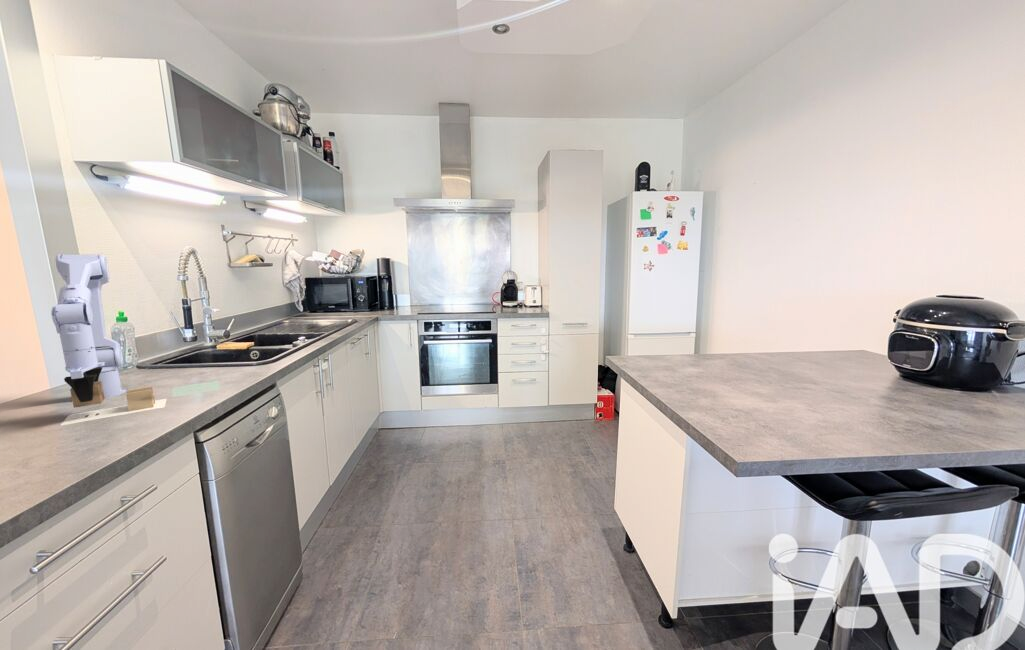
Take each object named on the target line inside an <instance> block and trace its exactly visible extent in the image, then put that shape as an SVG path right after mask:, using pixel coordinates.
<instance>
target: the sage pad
mask: <svg viewBox="0 0 1025 650" xmlns="http://www.w3.org/2000/svg"><path fill="white" fill-rule="evenodd" d="M218 390H221V386H220V381H219V380H212V381H208V382H200V383H199V382H198V383H193V384H187V385H181V386H175V387H172V391H171V396H170V398H175V397H181V396H187V395H193V394H198V393H199V394H200V393H206V392H213V391H218Z"/></svg>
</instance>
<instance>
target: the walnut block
mask: <svg viewBox="0 0 1025 650" xmlns="http://www.w3.org/2000/svg"><path fill="white" fill-rule="evenodd" d="M69 390H70V395H71V400H72V406H73V408H80V407H87V406H92V405H100V404H102V403H103V401H104V400H105V399H106V398H105V397H104V392H103V386H102V381H98V382H94V385H93V399H92V401H86V402H80V401H79V399H78V397H77V395H76V393H75V392H74V390H73V389H72V388H71V387H70V389H69Z"/></svg>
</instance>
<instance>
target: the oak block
mask: <svg viewBox="0 0 1025 650" xmlns="http://www.w3.org/2000/svg"><path fill="white" fill-rule="evenodd" d="M125 395H126V401H127V405H128V407H129V411H133V410H139V409H145V408H151V407H154V404H155V400H156V399H155V395H154V388H153V385H150V386H149V385H148V386H144V387H143V386H142V387H136V388H129V389H128V390H127V391H126V392H125Z"/></svg>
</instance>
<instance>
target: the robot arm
mask: <svg viewBox="0 0 1025 650" xmlns="http://www.w3.org/2000/svg"><path fill="white" fill-rule="evenodd" d="M55 266H56V269H57V273H58V274H60V276H61V278H62V279H63V281H64V282H65V283H66V284H65V285H63V286H62V287H61V288H60V290H59V295H58V299H57V304H56V305H55V306H52V307H51V309H50V313H51V319H52V322H53V324H54V327H55V329H56V333H57V334H59V338H60V343H61V349H62V353H63V357H64V358H63V359H64V365H65V367H64V369H65V371H66V372H68V373H69V375H70V376H65V377H64V378H63V380H64V382H65V383H66V384H67V385H68V386H69V387H70V389H71V388H72V389H73V390H74V392H75V393H76V395H77V397H78V399H79V401H80V402H86V401H92V399H93V385H94V382H98V381H102V386H103V392H104V397H105V399H109V398H113V397H117V396H120V395H121V394H126V393H127V388H126V389H122V383H121V378H120V373H119V368H121V367H122V366H123V364H124V357H123V352H122V348H121V344H120V343H119V342H118V341H116V340H115V339H111V338H109V337H107V331H106V323H105V315H104V307H103V299H102V289H103V286H104V285H105V284H107V283H109V282H110V281H109V279H110V273H109V265H108V259H107V257H106V256H105V255H104V254H103V253H99V254H65V253H64V254H63V253H58V254H57V255H56V256H55Z"/></svg>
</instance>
